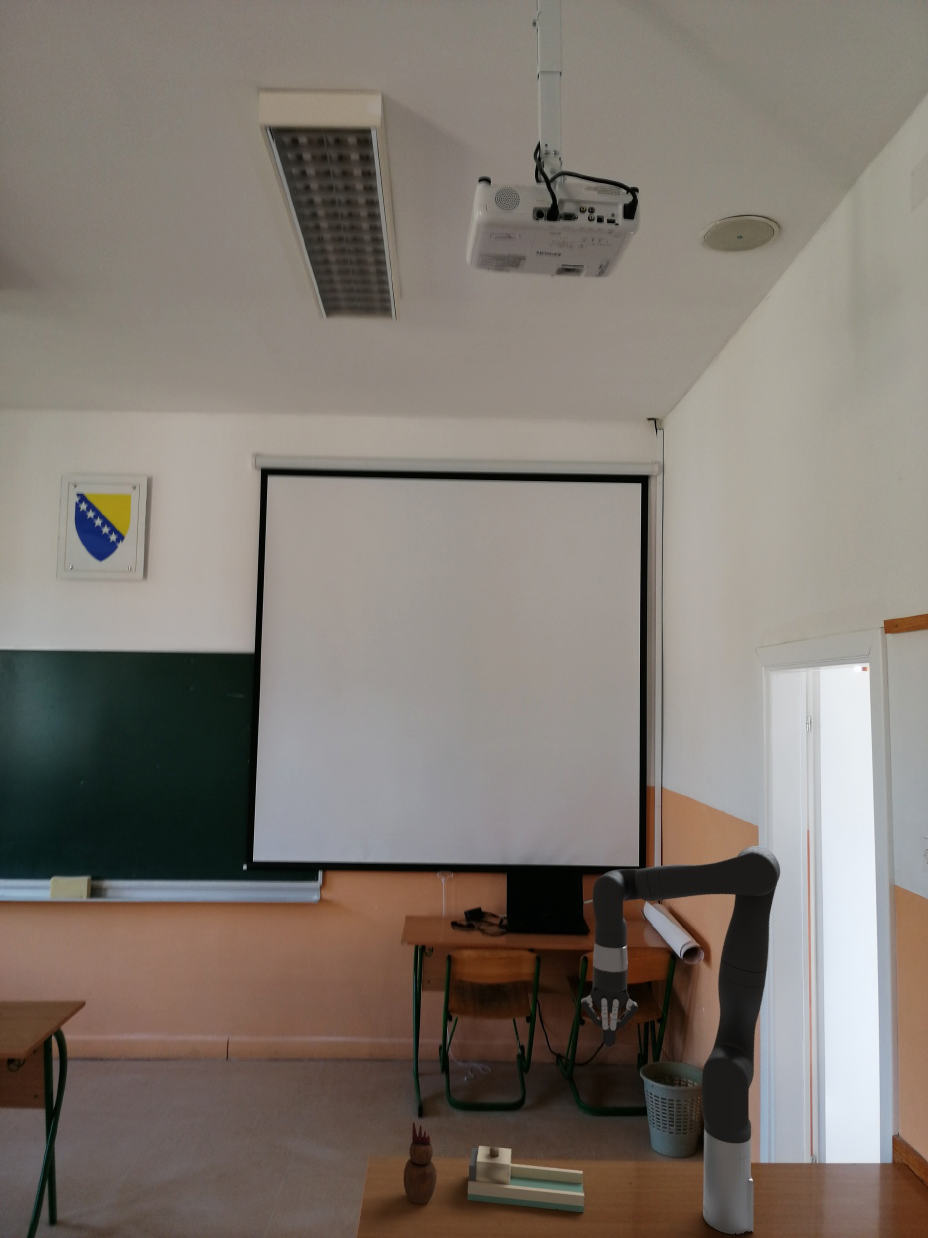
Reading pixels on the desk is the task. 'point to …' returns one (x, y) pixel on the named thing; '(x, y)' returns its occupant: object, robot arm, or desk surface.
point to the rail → (531, 1187)
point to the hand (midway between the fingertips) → (608, 1046)
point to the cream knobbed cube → (493, 1165)
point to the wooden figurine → (420, 1169)
